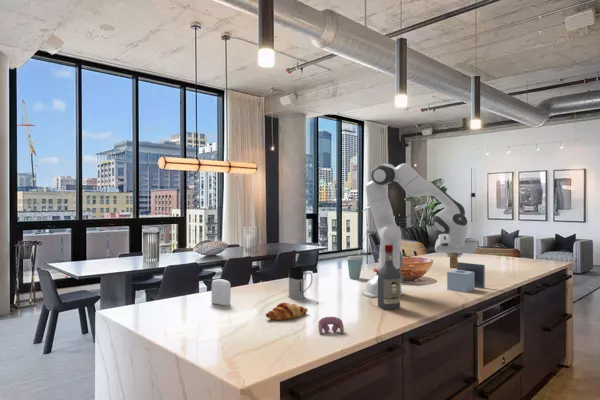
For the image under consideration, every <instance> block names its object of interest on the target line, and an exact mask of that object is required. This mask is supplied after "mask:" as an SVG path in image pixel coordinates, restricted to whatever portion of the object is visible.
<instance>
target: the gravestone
mask: <svg viewBox="0 0 600 400" xmlns="http://www.w3.org/2000/svg"><path fill="white" fill-rule="evenodd" d="M211 281H212V282H211V300H210V301H211V304H213V305H220V306H225V307H227V306H230V305H231V297H232V296H231V295H232V294H231V291H232V289H231V288H232V287H231V286H232V285H231V282H230V281H229V280H226V279H223V278H222V279H221V278H217V279H213V280H211Z"/></svg>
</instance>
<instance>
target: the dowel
mask: <svg viewBox="0 0 600 400" xmlns="http://www.w3.org/2000/svg"><path fill="white" fill-rule="evenodd" d="M458 258H459V257H458V253H450V257H449V269H454V270H457V268H458V262H459V261H458Z"/></svg>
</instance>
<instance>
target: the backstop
mask: <svg viewBox="0 0 600 400" xmlns="http://www.w3.org/2000/svg"><path fill="white" fill-rule="evenodd" d="M485 269H486V265H485V264H480V263H470V262H469V263H468V262H460V261H458V268H456V270H462V271H471V272H474V288H477V289H485V288H486V286H485V285H486V284H485V283H486V282H485V281H486V279H485V278H486V276H485V275H486V273H485V272H486V270H485Z"/></svg>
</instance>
